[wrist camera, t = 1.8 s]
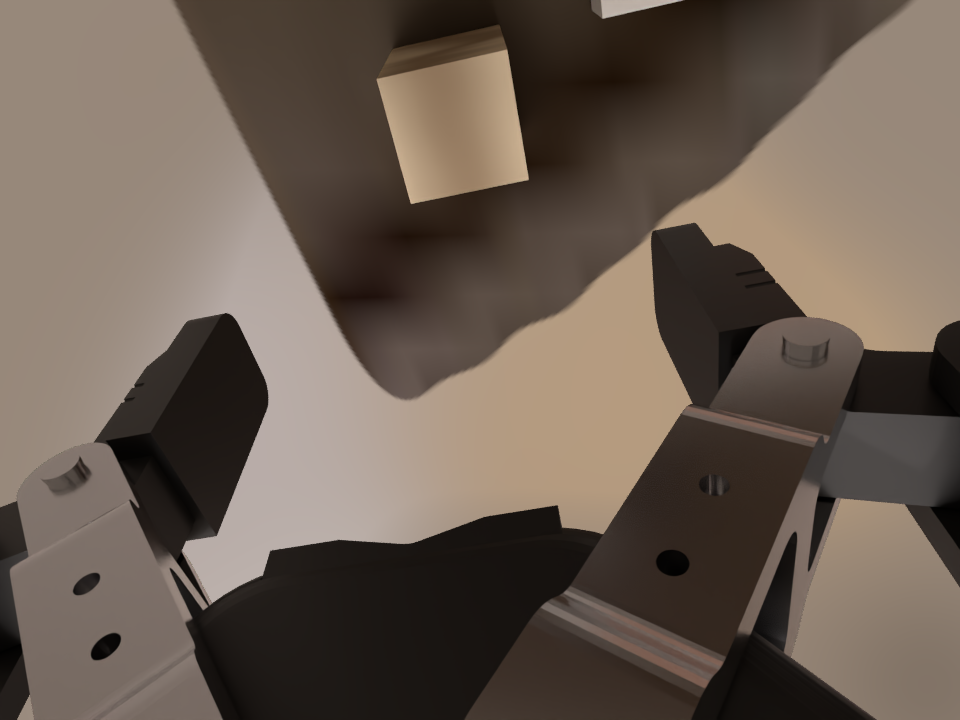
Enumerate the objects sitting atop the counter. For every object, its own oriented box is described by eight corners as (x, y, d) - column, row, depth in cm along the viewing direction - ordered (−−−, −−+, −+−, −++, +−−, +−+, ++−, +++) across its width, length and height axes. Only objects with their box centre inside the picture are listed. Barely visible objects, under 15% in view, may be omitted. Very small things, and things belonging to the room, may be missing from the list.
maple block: (499, 24, 27) (507, 49, 22) (517, 134, 29) (528, 179, 24) (392, 48, 27) (376, 79, 22) (420, 155, 30) (411, 203, 25)
